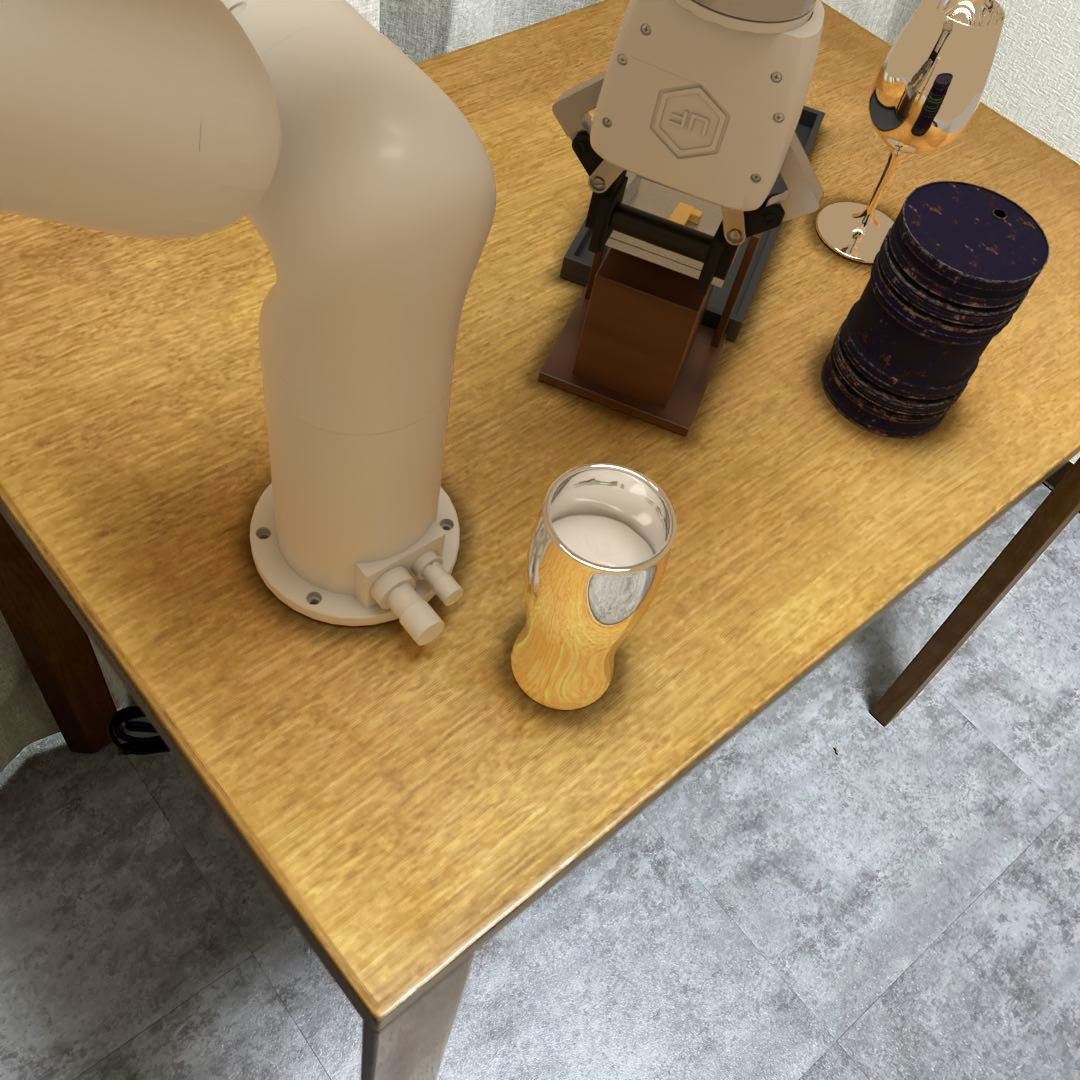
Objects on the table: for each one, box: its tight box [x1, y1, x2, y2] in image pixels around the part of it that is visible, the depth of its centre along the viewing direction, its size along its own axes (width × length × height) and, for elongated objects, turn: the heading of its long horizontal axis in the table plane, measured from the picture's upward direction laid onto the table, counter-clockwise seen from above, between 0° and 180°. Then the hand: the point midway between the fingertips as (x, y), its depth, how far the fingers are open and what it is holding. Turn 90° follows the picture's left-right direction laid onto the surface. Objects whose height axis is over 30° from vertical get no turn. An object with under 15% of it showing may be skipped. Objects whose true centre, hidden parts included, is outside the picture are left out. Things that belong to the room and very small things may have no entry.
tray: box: [559, 105, 826, 343], centre depth 92 cm, size 30×14×2 cm, turn 159°
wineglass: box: [815, 0, 1006, 265], centre depth 85 cm, size 8×8×20 cm
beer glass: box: [510, 461, 678, 711], centre depth 59 cm, size 7×7×15 cm
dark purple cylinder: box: [820, 180, 1050, 439], centre depth 77 cm, size 10×10×15 cm
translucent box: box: [605, 171, 741, 288], centre depth 70 cm, size 14×9×4 cm, turn 159°
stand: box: [537, 232, 763, 437], centre depth 76 cm, size 10×11×11 cm
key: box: [668, 202, 703, 226], centre depth 71 cm, size 7×3×1 cm, turn 159°
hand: (654, 257), depth 66 cm, fingers closed on translucent box, 6 cm apart
